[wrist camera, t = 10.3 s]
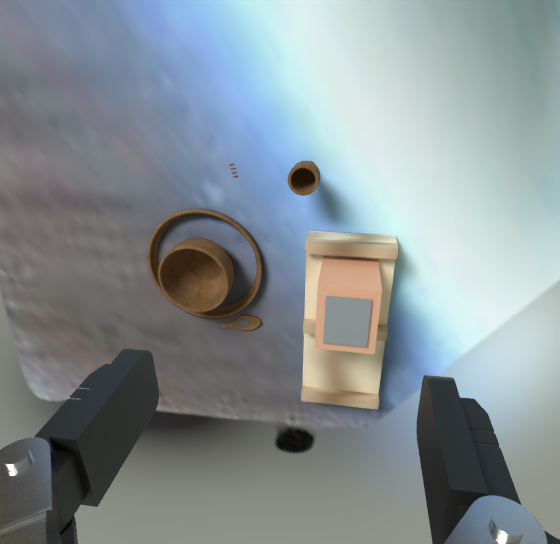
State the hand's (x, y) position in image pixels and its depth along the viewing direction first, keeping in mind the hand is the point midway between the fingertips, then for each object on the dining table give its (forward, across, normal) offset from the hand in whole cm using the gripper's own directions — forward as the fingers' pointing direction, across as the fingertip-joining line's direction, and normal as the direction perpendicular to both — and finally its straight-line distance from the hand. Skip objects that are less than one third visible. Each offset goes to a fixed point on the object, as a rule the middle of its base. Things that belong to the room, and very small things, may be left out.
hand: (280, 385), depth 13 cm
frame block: (+26, -2, +10) cm, 28 cm away
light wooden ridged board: (+28, -2, +14) cm, 32 cm away
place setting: (+29, +9, +8) cm, 32 cm away
